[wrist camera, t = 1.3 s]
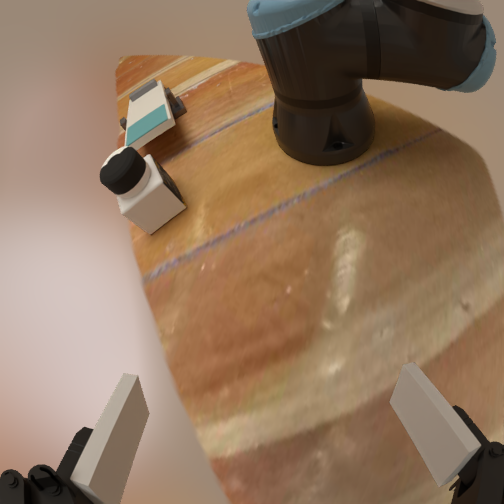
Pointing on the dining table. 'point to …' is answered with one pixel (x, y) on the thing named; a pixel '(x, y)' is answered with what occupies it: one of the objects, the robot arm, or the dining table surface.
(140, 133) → the beam
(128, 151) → the medicine bottle
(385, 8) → the robot arm
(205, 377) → the dining table surface
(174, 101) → the fulcrum
